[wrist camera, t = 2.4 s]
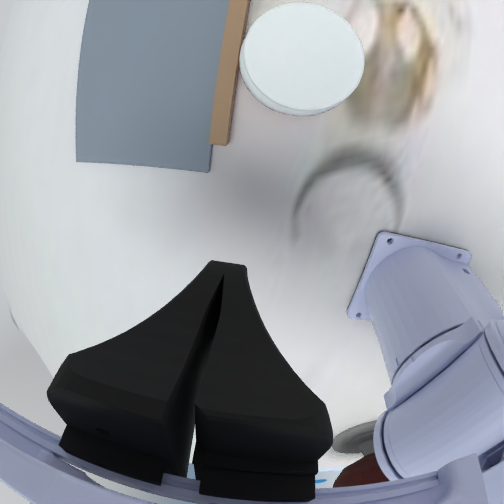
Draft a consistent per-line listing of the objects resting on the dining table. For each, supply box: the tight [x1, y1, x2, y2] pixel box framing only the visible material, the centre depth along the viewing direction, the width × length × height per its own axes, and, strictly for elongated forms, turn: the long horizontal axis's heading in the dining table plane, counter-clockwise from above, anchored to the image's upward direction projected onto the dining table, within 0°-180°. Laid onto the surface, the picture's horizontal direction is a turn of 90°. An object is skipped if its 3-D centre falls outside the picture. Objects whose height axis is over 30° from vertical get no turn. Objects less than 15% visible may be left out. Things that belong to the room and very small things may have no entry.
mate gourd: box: [332, 421, 390, 488], centre depth 28 cm, size 16×14×20 cm
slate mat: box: [76, 0, 250, 173], centre depth 14 cm, size 11×14×1 cm
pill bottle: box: [239, 2, 365, 116], centre depth 11 cm, size 5×5×8 cm
